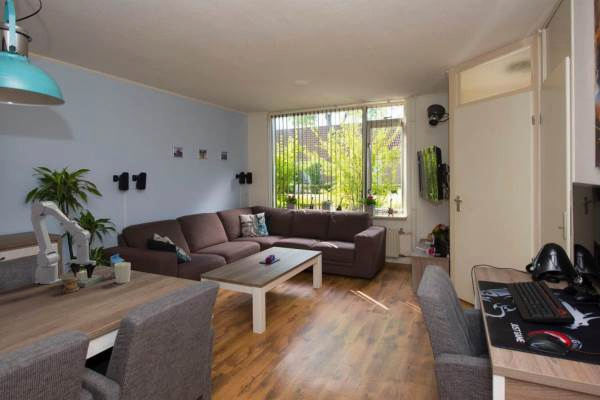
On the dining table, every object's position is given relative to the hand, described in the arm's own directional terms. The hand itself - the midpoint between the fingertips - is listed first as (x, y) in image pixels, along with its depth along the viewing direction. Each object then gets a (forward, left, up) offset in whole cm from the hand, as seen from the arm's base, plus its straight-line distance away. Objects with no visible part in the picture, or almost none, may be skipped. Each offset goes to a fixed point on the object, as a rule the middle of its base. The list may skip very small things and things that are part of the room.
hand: (83, 277), depth 188 cm
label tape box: (+10, +15, -3) cm, 18 cm away
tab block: (0, -1, -3) cm, 3 cm away
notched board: (0, 0, -3) cm, 3 cm away
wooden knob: (+4, -13, -3) cm, 14 cm away
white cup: (+20, +5, -3) cm, 21 cm away
